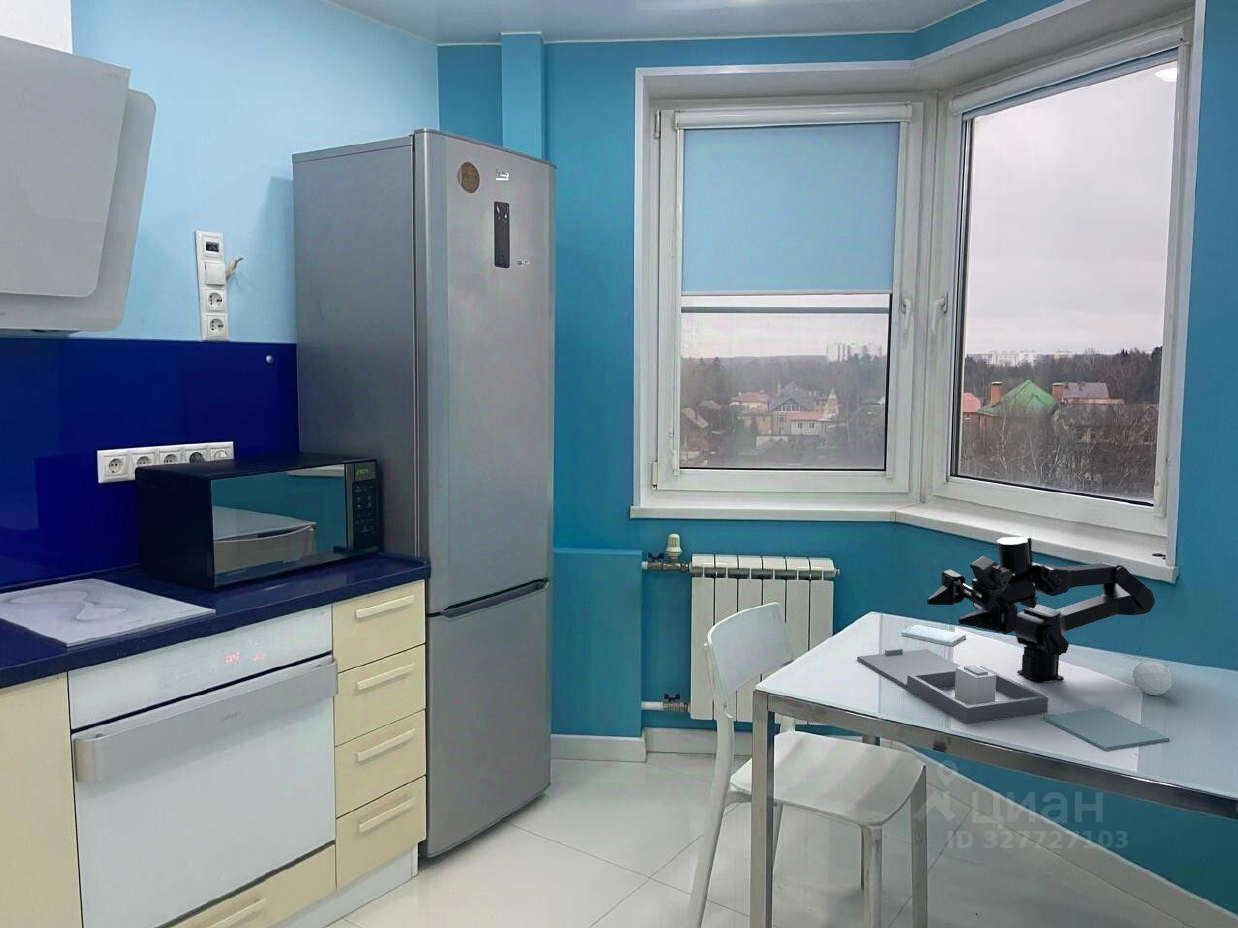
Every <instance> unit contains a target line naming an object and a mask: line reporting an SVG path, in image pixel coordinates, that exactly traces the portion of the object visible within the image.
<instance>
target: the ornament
mask: <svg viewBox="0 0 1238 928" xmlns="http://www.w3.org/2000/svg"><path fill="white" fill-rule="evenodd" d="M1132 680H1133V682H1134V685H1135V687H1136V688H1137V689H1139V690H1140V692H1142V693H1144V694H1145V695H1150V696H1151V695H1152V696H1160V695H1162V694H1165V693H1167V691H1168V690H1169V689H1170V687H1172V676H1171V673H1170V671H1169V669H1168V668H1167V667H1165V666H1164V665H1163V664H1162V663H1161V662H1159V661H1152V659H1151V658H1147V660H1146V661H1143V662H1141V663H1139V664H1137V665H1136V666H1135V667H1134V669H1133V670H1132Z"/></svg>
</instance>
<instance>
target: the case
mask: <svg viewBox="0 0 1238 928" xmlns="http://www.w3.org/2000/svg"><path fill="white" fill-rule="evenodd" d="M856 658H857V659H856V661H858V662H859V663H862V664H863V665H864V666H866V667H868V668H870V669H872V670H873V671H876V672H877V673H879V674H880V675H882V676H884V677H886V678H887V679H889V680H890V681H893V682H894V683H896V685H897V684H898V685H899V686H901V687H903V688H904V689H907V691H909V692H911V693H913V694H915V695H916V696H918V697H919V698H922V699H923V700H925V701H927V702H928V703H930V704H931V705H933V706H935V707H937V708H939V709H940V710H941V711H944V712H945V713H947V714H949V715H951V716H952V717H954V718H956V719H957V720H959V721H960V722H962V723H964V724H967V725H968V724H975V723H976V724H977V723H981V722H982V723H983V722H989V721H998V720H1004V719H1011V718H1018V717H1025V716H1027V717H1028V716H1032V715H1039V714H1040V715H1041V714H1047V713H1048V712H1049V711H1048V708H1049V706H1048V705H1049V697H1048V696H1046V695H1044V694H1042V693H1041V692H1038V691H1036V690H1034V689H1032V688H1030V687H1028V686H1026V685H1023V684H1021V683H1020V682H1017V681H1015V680H1013V679H1011V678H1009V677H1006V676H1004V675H1003V674H1000V673H998V672H996V671H994V670H992V669H990V668H987V667H986V666H983V665H977V666H978V667H980V668H982V669H984V670H987V671H989V672H991V673H993V674H995V675H996V691H998V692H999V693H1001V694H1004V695H1006V696H1008V697H1010V698H1012V699H1007V700H1000V701H999V700H998V701H995V702H990V703H982V704H974V705H969V704H968V703H966V702H964V701H962V700H960V699H958V698H957V697H955V696H952V695H950V694H948V693H946V692H945V691H943V690H941V689H939V688H946V687H951V686H955V675H956V667H962V665H960V664H958V663H955V662H954V661H952V660H950V659H948V658H946V657H944V656H941V655H939V654H937V652H934V651H932V650H930V649H927V648H925V649H924V648H923V649H916V650H914V649H913V650H908V651H904V649H903V648H902V647H895V648H893V647H892V648H885V649H884V653H880V654H879V653H878V654H868V655H859V656H856Z"/></svg>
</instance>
